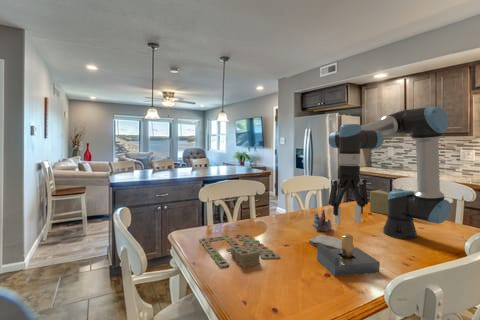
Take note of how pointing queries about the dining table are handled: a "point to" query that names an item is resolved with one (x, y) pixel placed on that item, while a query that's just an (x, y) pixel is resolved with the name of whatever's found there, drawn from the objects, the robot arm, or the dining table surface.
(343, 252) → the tan cylinder
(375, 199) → the cheese
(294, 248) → the dining table surface
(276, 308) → the dining table surface
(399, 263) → the dining table surface
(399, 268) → the dining table surface
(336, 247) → the washcloth
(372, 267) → the jig
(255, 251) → the pile of dominoes
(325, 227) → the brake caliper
